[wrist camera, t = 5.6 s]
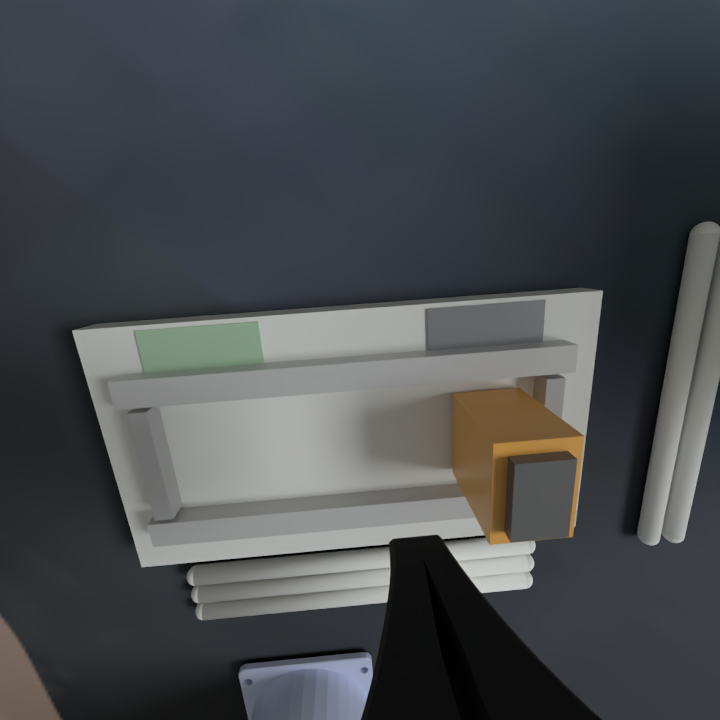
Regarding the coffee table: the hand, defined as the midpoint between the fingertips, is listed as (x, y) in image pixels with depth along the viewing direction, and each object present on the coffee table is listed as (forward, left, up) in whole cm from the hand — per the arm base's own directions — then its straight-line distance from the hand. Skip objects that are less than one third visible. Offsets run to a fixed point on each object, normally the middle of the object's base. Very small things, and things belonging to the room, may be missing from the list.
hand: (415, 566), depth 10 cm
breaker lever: (0, -5, -7) cm, 8 cm away
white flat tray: (0, +1, -9) cm, 9 cm away
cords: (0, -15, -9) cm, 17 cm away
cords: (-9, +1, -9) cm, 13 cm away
